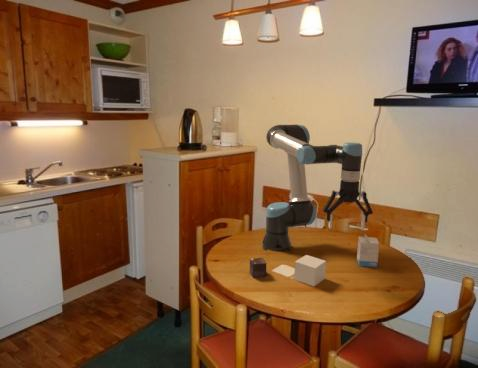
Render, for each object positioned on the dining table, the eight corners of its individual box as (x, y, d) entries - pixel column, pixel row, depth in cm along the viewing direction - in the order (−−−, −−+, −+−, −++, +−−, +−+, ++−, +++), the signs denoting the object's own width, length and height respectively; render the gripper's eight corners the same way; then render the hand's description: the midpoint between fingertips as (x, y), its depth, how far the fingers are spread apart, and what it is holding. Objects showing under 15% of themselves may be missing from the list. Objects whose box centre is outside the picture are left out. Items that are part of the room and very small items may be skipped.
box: (266, 279, 147) (266, 263, 146) (252, 280, 146) (253, 264, 145) (262, 272, 153) (262, 257, 152) (249, 274, 152) (249, 258, 150)
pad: (271, 271, 153) (271, 270, 153) (282, 264, 159) (282, 264, 159) (288, 277, 147) (288, 277, 147) (299, 270, 154) (299, 270, 154)
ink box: (377, 267, 160) (380, 240, 157) (358, 265, 161) (361, 238, 159) (374, 260, 168) (376, 233, 165) (356, 258, 170) (358, 232, 167)
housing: (294, 279, 145) (295, 261, 143) (305, 271, 152) (306, 254, 150) (314, 286, 139) (315, 268, 137) (324, 278, 146) (326, 260, 144)
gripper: (321, 181, 141) (317, 230, 146) (383, 182, 139) (378, 232, 144) (318, 177, 148) (315, 224, 153) (378, 179, 147) (373, 227, 151)
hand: (346, 228), depth 148 cm, fingers open, 13 cm apart
